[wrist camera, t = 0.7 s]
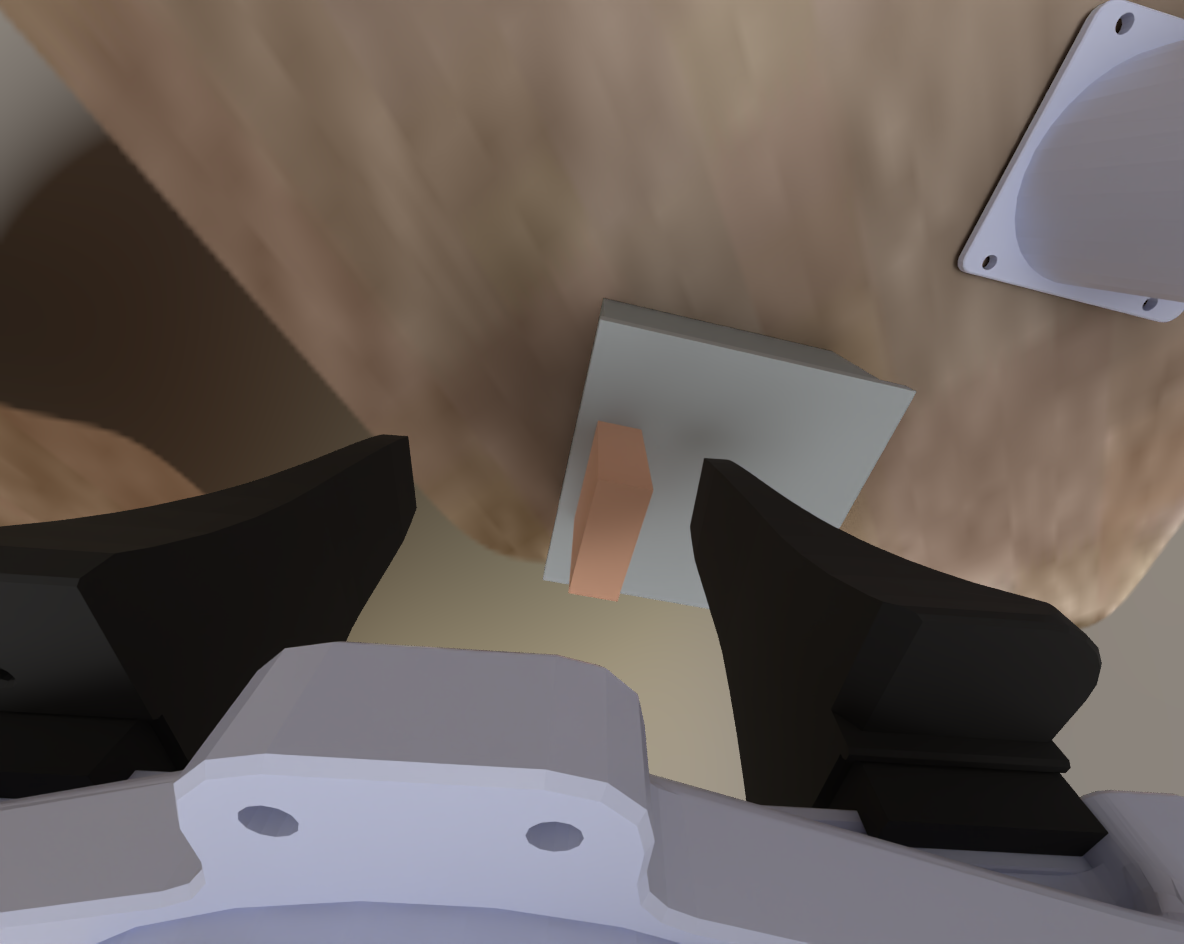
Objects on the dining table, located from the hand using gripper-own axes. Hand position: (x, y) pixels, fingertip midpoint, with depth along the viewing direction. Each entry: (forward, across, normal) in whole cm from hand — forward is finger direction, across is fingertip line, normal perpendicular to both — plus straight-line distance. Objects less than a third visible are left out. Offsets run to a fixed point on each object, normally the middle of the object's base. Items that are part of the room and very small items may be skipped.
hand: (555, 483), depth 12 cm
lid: (+5, -5, +3) cm, 8 cm away
